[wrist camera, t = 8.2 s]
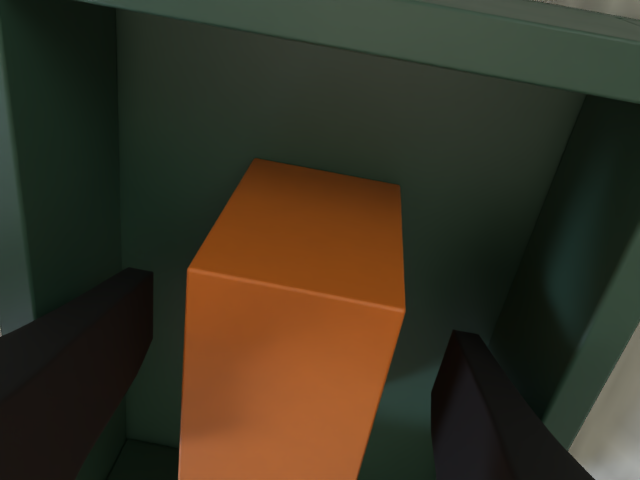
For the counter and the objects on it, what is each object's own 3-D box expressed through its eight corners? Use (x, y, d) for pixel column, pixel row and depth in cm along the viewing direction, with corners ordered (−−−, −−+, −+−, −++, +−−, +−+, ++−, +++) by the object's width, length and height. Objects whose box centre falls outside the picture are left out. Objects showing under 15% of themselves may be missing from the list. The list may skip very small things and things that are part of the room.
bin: (110, 437, 19) (39, 567, 15) (86, -80, 11) (-71, -88, 8) (443, 503, 19) (457, 652, 15) (646, 20, 11) (784, 67, 7)
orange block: (231, 376, 16) (174, 535, 12) (253, 156, 13) (185, 268, 9) (347, 399, 16) (332, 568, 12) (401, 183, 13) (406, 310, 9)
